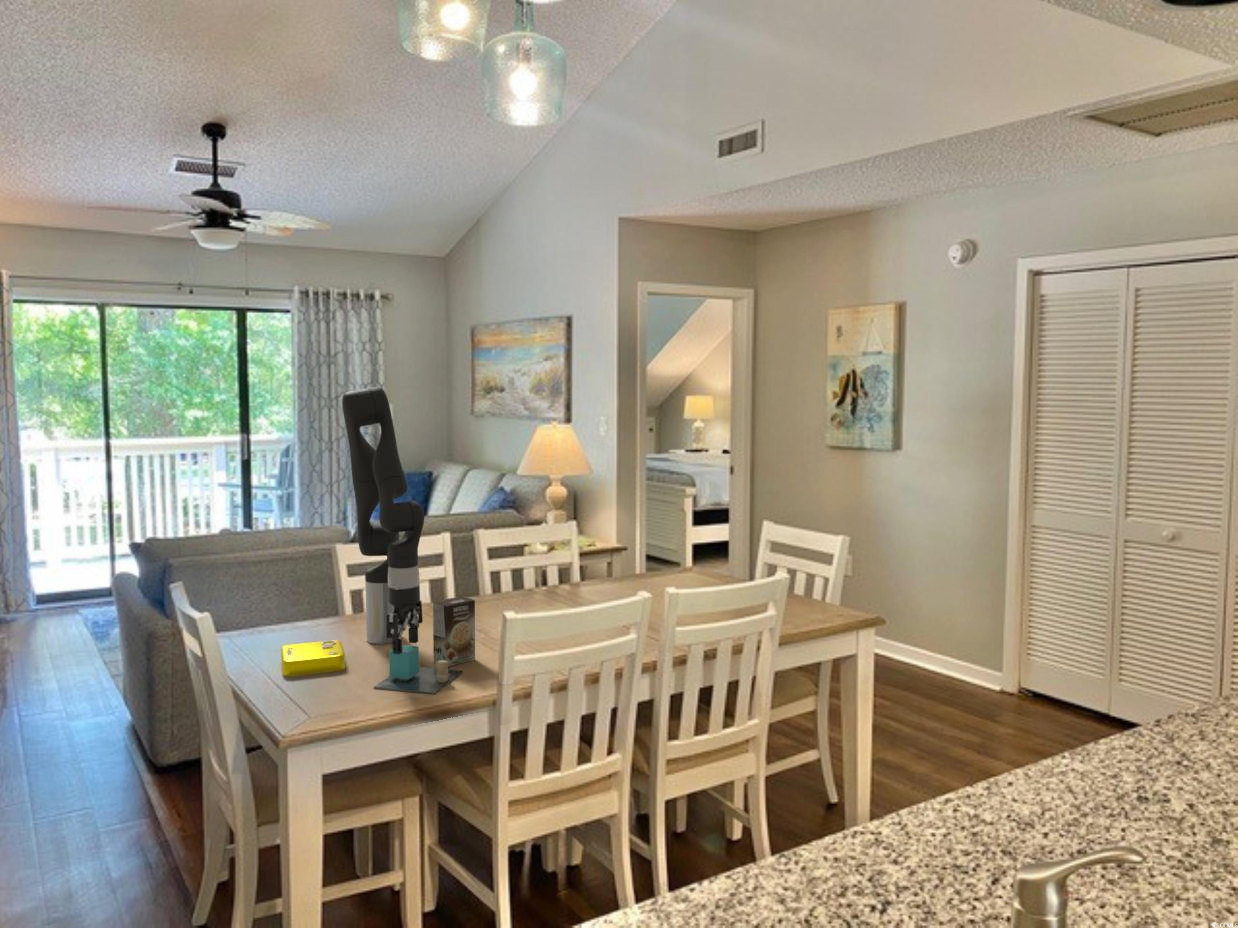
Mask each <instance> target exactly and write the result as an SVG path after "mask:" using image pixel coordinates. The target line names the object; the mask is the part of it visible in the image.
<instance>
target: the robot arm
mask: <svg viewBox="0 0 1238 928" xmlns="http://www.w3.org/2000/svg"><path fill="white" fill-rule="evenodd" d="M341 403H342V412H343V419H344V424H345V429H346V434H347V435H346V436H347V439H348V440H347V441H348V446H349V455H350V466H351V477H352V478H351V479H352V486H353V492H354V499H355V506H356V514H357V515H356V517H357V518H356V519H357V540H358V541H357V542H358V546H359V547H358V548H359V552H360V554H362V556H364V557H384V556H385V557H386V560H384V561H383V562H381V563H379V564H377V565H374V566H372V567H369V568H368V569H366V570H365V573H364V580H365V581H364V583H365V610H366V611H365V614H366V615H365V616H366V618H365V619H366V642H367V643H369V644H374V645H385V644H392V645H391V646H392V649H393V653H394V654H401V653H402V645H403V638H402V637H403V635H404V631H406V630H407V626H408V642H409V643H410V644H417V643H418V642H419V628H420V624H422V623H423V605H422V604H423V603H422V600H421V589H420V588H421V586H420V585H421V581H420V569H419V544H420V540H421V537H422V536H421V535H422V532H423V527H424V523H425V511H424V508H423V507H422V505H421V503H419V502H418V501H412V500H411V501H402V502H395V501H394V500H395V499H399V498H401V497H403V496H404V495H406V493H407V492H408V489H409V487H408V483H407V482H408V481H407V479H406V475H405V473H404V470H403V467H402V464H401V463H402V462H401V459H400V456H399V452H398V451H399V450H398V445H397V439H396V432H395V428H394V422H393V417H392V411H391V407H390V402H389V398H388V397H387V394H386V391H385V390H384V389H383V388H381V387H380V386H379V387H378V386H377V387H376V386H375V387H369V388H362V389H361V388H360V389H355V390H351V391H347V392H345V393H343V395H342V400H341ZM377 424H379V426H380V430H381V431H380V438H379V442H378V444H377V446H376V448H374V447H373V446H372V445H371V444H370V442H368V441H367V439H366V438H365V437H364V435H363V433H362V432H361V427H367V426H371V425H377ZM377 507H379V511H378V512H379V517H378V518H379V522H371V521H370V520H371V518H372V516H373V513H374V511H375V510H376V509H377ZM401 532H402V533H403V532H404V534H403V536H402V537H401V538H400V533H401Z"/></svg>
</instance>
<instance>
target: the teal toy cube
mask: <svg viewBox="0 0 1238 928" xmlns="http://www.w3.org/2000/svg"><path fill="white" fill-rule="evenodd" d="M419 647H420V646H417V645H406V644H405V645H404V644H402V653H401V654H394V653H393V648H392V649H391V650H389V651H388V652H389V653H388V659H389V662H388V663H389V676H390V677H391V678H402V679H410V678H412V677H413V676H415V675H416V674H418V673H419V667H420V656H419V655H420V653H419V652H420V651H419Z"/></svg>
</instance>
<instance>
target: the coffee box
mask: <svg viewBox="0 0 1238 928" xmlns="http://www.w3.org/2000/svg"><path fill="white" fill-rule="evenodd" d="M475 605H476V600H475V599H473V598H469V597H464V596H457V597H451V598H445V599H440V600H435V601H432V619H433V621H432V622H433V623H432V626H433V628H432V629H433V630H432V632H433V634H432V636H433V637H432V638H433V639H432V640H433V642H432V643H433V644H432V645H433V646H432V647H433V649H432V650H433V651H432V652H433V657H432V658H433V663H436V662H437V661H447V662H448V667H450V666H455V665H459V664H463V663H467V662H471V661H474V660H476V606H475Z"/></svg>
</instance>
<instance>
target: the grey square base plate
mask: <svg viewBox="0 0 1238 928" xmlns="http://www.w3.org/2000/svg"><path fill="white" fill-rule="evenodd" d="M463 673H464V670H458V669H448V681H447V682H444V683H439V682H436V667H425V666H419V673H418V674H416V675H415V676H413V677H412V678H410V679H402V678H391V677H390V675H388V676H387V677H386V678H385V679H383V680H381V682H379V683H377V684H376V685H373V689H374V688H375V689H376V690H385V691H395V690H396V692H407V693H416V692H417V693H418V694H426V695H427V694H429V695H436V694H438V693H439V692H440V691H441V690H443V689H444V688H445V687H447V686H448V685H449V684H450V683H452V682H453V681H454V680H456V679H457V678H458V677H460V676H461V675H462V674H463ZM455 678H456V679H455Z"/></svg>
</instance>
